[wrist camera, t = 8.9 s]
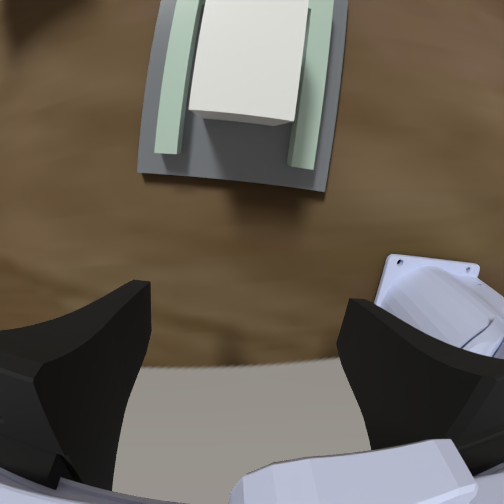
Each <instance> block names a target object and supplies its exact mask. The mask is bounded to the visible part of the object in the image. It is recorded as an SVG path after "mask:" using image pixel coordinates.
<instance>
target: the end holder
mask: <svg viewBox="0 0 504 504" xmlns="http://www.w3.org/2000/svg"><path fill="white" fill-rule="evenodd" d="M205 2H206V0H161V4H160V8H159V13H158V18H157V23H156V28H155V33H154V38H153V43H152V49H151V55H150V61H149V67H148V74H147V80H146V88H145V95H144V103H143V111H142V120H141V130H140V141H139V153H138V166H137V173H152V174H166V175H180V176H192V177H203V178H214V179H224V180H234V181H243V182H252V183H261V184H269V185H277V186H285V187H293V188H300V189H307V190H314V191H321V192H325V188H326V182H327V176H328V169H329V163H330V156H331V150H332V143H333V136H334V129H335V122H336V114H337V107H338V99H339V90H340V82H341V73H342V64H343V54H344V44H345V33H346V21H347V8H348V0H309V4H308V13H307V21H306V30H305V39H304V47H303V55H302V64H301V72H300V80H299V88H298V95H297V103H296V111H295V118H294V121H293V122H289V123H285V124H281V125H277V126H269V125H261V124H254V123H245V122H236V121H227V120H216V119H204V118H201V117H200V116H198V115H196V114H195V113H193V112H192V111H190V110H189V101H190V94H191V86H192V79H193V72H194V66H195V59H196V53H197V47H198V41H199V35H200V29H201V23H202V18H203V12H204V7H205Z"/></svg>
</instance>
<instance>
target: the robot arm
mask: <svg viewBox="0 0 504 504" xmlns="http://www.w3.org/2000/svg"><path fill="white" fill-rule="evenodd" d="M398 260H401V262H400V263H399V264H397V262H398ZM466 269H467V270H466ZM479 270H480V267H479V265H477V264H475V263H467V262H458V261H450V260H442V259H433V258H425V257H416V256H408V255H399V254H391V255H389V256H388V257H387V259H386V262H385V266H384V269H383V273H382V277H381V280H380V284H379V287H378V291H377V294H376V297H375V301H374V303H372V302H370V301H367V300H365V299H353V298H349V302H348V305H347V309H346V312H345V316H344V319H343V323H342V326H341V330H340V333H339V336H338V339H337V343H336V344H337V349H338V353H339V357H340V361H341V364H342V367H343V369H344V372H345V374H346V377H347V379H348V381H349V383H350V386H351V388H352V390H353V393H354V395H355V398H356V400H357V402H358V405H359V407H360V409H361V412H362V415H363V418H364V421H365V425H366V429H367V432H368V436H369V440H370V445H371V450H370V451H363V452H355V453H348V454H338V455H327V456H316V457H315V456H314V457H303V458H298V459H292V460H286V461H280V462H273V463H271V464H269V465H267V466H264V467H262V468H260V469H257V470H255V471H252V472H250V473H247V474H246V475H245V476H243V477H242V478H241V480H240V481H239V482H238V483H237V484H236V485H235V486H234V488H233V489H232V490H231V493H230V498H229V503H228V504H504V297H503V296H501V295H500V294H499V293H497V292H496V291H495V290H493V289H492V288H491V287H489V286H488V285H486V284H485V283H484V282H482V281H481V280H480V279H478V278H477V277H478V274H479ZM151 331H152V330H151V287H150V282H149V281H140V280H132V281H130V282H128V283H126V284H125V285H123V286H121V287H119V288H118V289H116V290H114V291H112V292H111V293H109V294H107V295H105V296H104V297H102V298H100V299H98V300H96V301H94V302H92V303H90V304H89V305H87V306H85V307H83V308H81V309H79V310H76V311H74V312H72V313H69V314H67V315H64V316H61V317H59V318H56V319H53V320H49V321H46V322H42V323H39V324H35V325H31V326H27V327H22V328H16V329H10V330H2V331H0V504H185V503H177V502H169V501H161V500H155V499H149V498H143V497H137V496H132V495H127V494H122V493H117V492H113V491H112V484H113V474H114V468H115V461H116V454H117V448H118V442H119V437H120V432H121V427H122V422H123V418H124V413H125V409H126V406H127V402H128V399H129V396H130V393H131V391H132V388H133V386H134V383H135V380H136V378H137V375H138V373H139V370H140V368H141V365H142V362H143V360H144V357H145V355H146V352H147V348H148V344H149V339H150V335H151Z"/></svg>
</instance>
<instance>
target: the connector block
mask: <svg viewBox="0 0 504 504" xmlns="http://www.w3.org/2000/svg"><path fill="white" fill-rule="evenodd" d="M308 4H309V0H206V2H205V7H204V12H203V18H202V23H201V29H200V35H199V41H198V47H197V53H196V59H195V66H194V72H193V79H192V86H191V94H190V101H189V110H190V111H192V112H193V113H195V114H196V115H198V116H200V117H201V118H204V119H216V120H227V121H236V122H245V123H254V124H261V125H269V126H277V125H281V124H285V123H289V122H293V121H294V118H295V111H296V103H297V95H298V88H299V80H300V72H301V64H302V55H303V47H304V39H305V30H306V21H307V13H308Z"/></svg>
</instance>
